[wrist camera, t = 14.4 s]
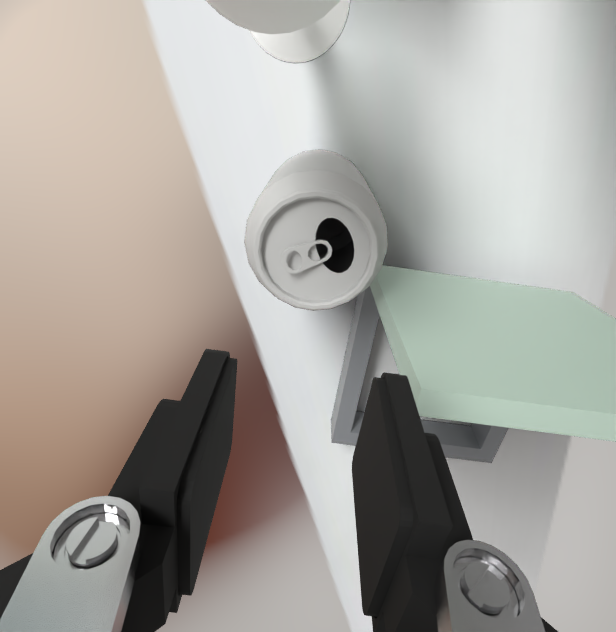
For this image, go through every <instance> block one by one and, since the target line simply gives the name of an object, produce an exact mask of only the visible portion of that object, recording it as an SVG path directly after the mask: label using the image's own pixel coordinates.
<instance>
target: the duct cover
mask: <svg viewBox="0 0 616 632" xmlns="http://www.w3.org/2000/svg"><path fill="white" fill-rule="evenodd" d="M370 288H371V291H372V294H373V297H374V300H375V303H376V306H377V309H378V312H379V315H380V317H381V320H382V323H383V326H384V329H385V332H386V335H387V338H388V341H389V344H390V347H391V350H392V353H393V356H394V359H395V362H396V365H397V368H398V371H399V374H400V375H406V376H407V377H408V380H409V383H410V386H411V390H412V393H413V396H414V400H415V403H416V406H417V409H418V413H419V416H423V417H430V418H438V419H446V420H453V421H461V422H469V423H476V424H484V425H492V426H499V427H507V428H515V429H523V430H530V431H538V432H546V433H553V434H561V435H569V436H577V437H584V438H592V439H600V440H608V441H615V442H616V318H614V317H612V316H611V315H609V314H607V313H606V312H604V311H603V310H601V309H599V308H598V307H596V306H594V305H593V304H591V303H590V302H588V301H586V300H585V299H583V298H582V297H580V296H578V295H577V294H575V293H573V292H568V291H561V290H554V289H547V288H540V287H533V286H526V285H519V284H512V283H505V282H498V281H491V280H484V279H477V278H470V277H463V276H456V275H448V274H441V273H434V272H427V271H420V270H413V269H406V268H399V267H392V266H385V265H382V269H381V270H380V272H379V273H378V274H377V276H376V277H375V279H374V280H373V282H372V283H371V285H370Z"/></svg>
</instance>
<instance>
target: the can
mask: <svg viewBox="0 0 616 632" xmlns="http://www.w3.org/2000/svg"><path fill="white" fill-rule="evenodd" d="M244 243H245V248H246V253H247V258H248V263H249V265H250V267H251V268H252V270H253V272H254V274H255V275H256V277H257V279H258V281H259V282H260V283H261V284H262V285H263V286H264V287H265V288H266V289H267V290H268V291H270V292H271V293H272V294H273V295H274V296H275V297H277V298H278V299H280V300H281V301H283V302H285V303H287V304H289V305H291V306H293V307H296V308H302V309H307V310H313V311H314V310H324V309H332V308H335V307H337V306H340V305H342V304H345V303H347V302H349V301H350V300H352V299H354V298H355V297H356V296H358V295H359V294H360V293H362V292H363V291H364V290H365V289H367V288H368V287H369V286H370V285H371V283H372V282H373V280H374V279H375V277H376V276H377V274H378V273H379V272H380V270H381V269H382V265H383V262H384V259H385V255H386V252H387V248H388V244H387V225H386V222H385V220H384V217H383V215H382V212H381V209H380V207H379V204H378V202H377V201H376V199H375V197H374V195H373V193H372V192H371V190H370V188H369V186H368V184H367V182H366V181H365V179H364V177H363V175H362V174H361V173H360V171H359V170H358V169H357V168H356V167H355V165H354V164H353V163H352V162H351V161H349V160H348V159H346V158H344V157H343V156H341V155H339V154H338V153H335V152H330V151H326V150H321V149H318V150H311V151H303V152H301V153H299V154H297V155H295V156H293V157H291V158H289V159H287V160H286V161H285V162H284V163H283V164H282V165H281V166H280V167H279V168H278V169H277V170H276V171H275V173H274V175H273V176H272V178H271V179H270V181H269V182H268V184H267V185H266V187H265V188H264V190H263V191H262V193H261V194H260V196H259V197H258V199H257V200H256V203H255V205H254V207H253V209H252V211H251V213H250V215H249V217H248V219H247V224H246V232H245V240H244Z"/></svg>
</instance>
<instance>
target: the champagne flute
mask: <svg viewBox="0 0 616 632" xmlns="http://www.w3.org/2000/svg"><path fill="white" fill-rule="evenodd" d="M206 1H207V2H208V3H209V4H210V5H211V6H212V7H213V8H214V9H215V10H216V11H217V12H218V13H219V14H220V15H222V16H223V17H225V18H226V19H228V20H229V21H231V22H232V23H234V24H235V25H238V26H240V27H243V28H245V29H248V30H249V31H250V33H251V35H252V36H253V38H254V39H255V41H256V42H257V43H258V45H259V46H260V47H261V48H262V49H263V50H265V51H266V52H267V53H268V54H270V55H271V56H273V57H275V58H277V59H279V60H282V61H285V62H292V63H300V62H306V61H309V60H313V59H315V58H317V57H319V56H320V55H322V54H324V53H325V52H326V51H327V50H328V49H329V48H330V47H331V46H332V45H333V44H334V43H335V41H336V40H337V39H338V37H339V36H340V34H341V32H342V30H343V28H344V26H345V22H346V19H347V16H348V12H349V5H350V0H206Z"/></svg>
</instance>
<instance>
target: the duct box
mask: <svg viewBox="0 0 616 632" xmlns="http://www.w3.org/2000/svg"><path fill="white" fill-rule="evenodd" d="M379 316H380V315H379V312H378V309H377V306H376V303H375V300H374V297H373V294H372V291H371V288H370V286H369V287H368V288H367V289H365V290H364V291H363V292H362V293H360V294H359V295H358V296H357V301H356V305H355V310H354V315H353V319H352V324H351V329H350V334H349V338H348V343H347V348H346V352H345V357H344V362H343V367H342V371H341V376H340V381H339V385H338V390H337V395H336V399H335V404H334V409H333V414H332V418H331V436H332V443H339V444H347V445H355V446H356V443H357V439H358V436H359V432H360V428H361V424H362V420H363V416H364V412H359V411H356V409H357V405H358V401H359V397H360V393H361V389H362V385H363V381H364V377H365V373H366V369H367V365H368V361H369V357H370V352H371V348H372V344H373V340H374V336H375V332H376V328H377V324H378V320H379ZM421 423H422V426H423V429H424V433H432V434H435V435H436V436H437V437H438V439H439V441H440V444H441V447H442V450H443V452H444V455H445V457H449V458H457V459H465V460H473V461H481V462H488V463H492V461H493V459H494V457H495V455H496V453H497V451H498V448H499V446H500V444H501V442H502V440H503V438H504V436H505V434H506V432H507V430H508V428H507V427H499V426H492V425H484V424H476V423H472V424H471V426H467V425H459V424H451V423H444V422H436V421H428V420H421Z"/></svg>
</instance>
